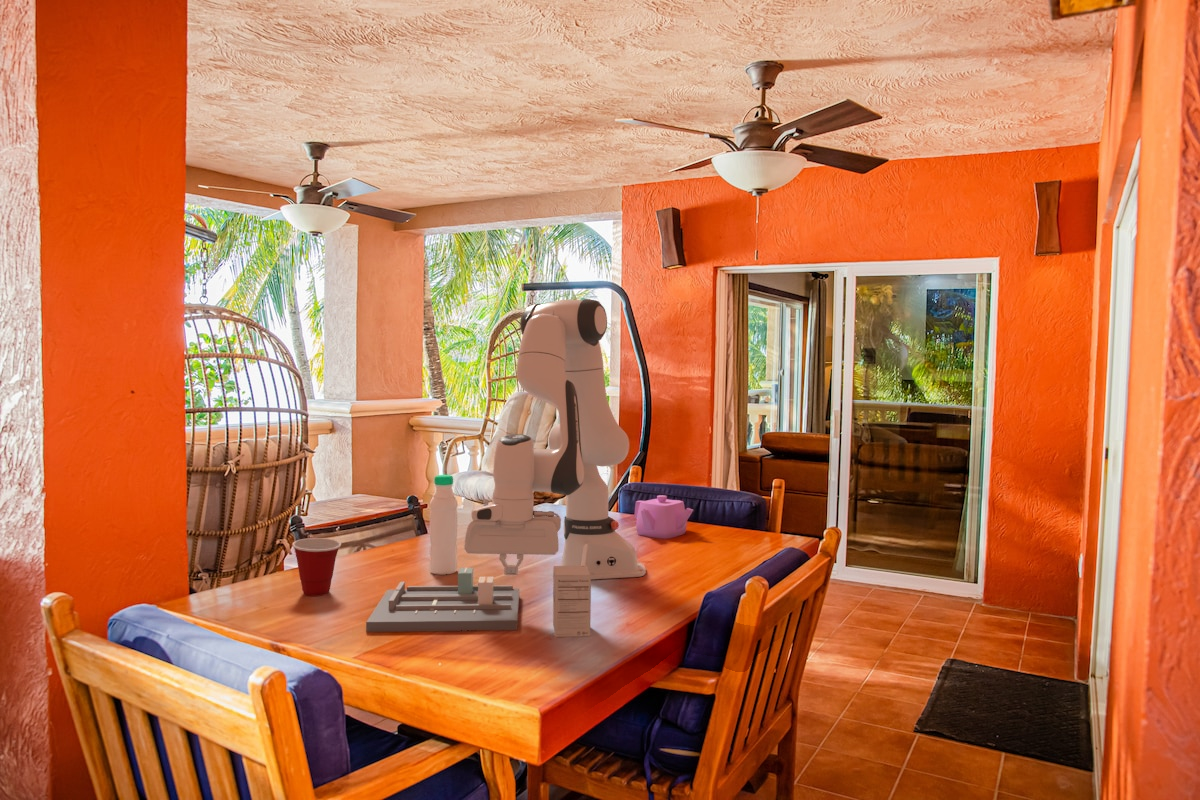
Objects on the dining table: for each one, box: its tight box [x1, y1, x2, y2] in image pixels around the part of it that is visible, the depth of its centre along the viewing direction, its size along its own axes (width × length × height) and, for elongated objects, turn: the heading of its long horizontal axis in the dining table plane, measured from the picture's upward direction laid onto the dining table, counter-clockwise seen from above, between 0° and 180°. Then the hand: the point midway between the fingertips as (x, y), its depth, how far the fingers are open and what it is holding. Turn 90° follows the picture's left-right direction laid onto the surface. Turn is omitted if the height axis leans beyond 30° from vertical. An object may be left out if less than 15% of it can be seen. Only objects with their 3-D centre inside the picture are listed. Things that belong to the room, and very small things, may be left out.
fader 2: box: [477, 575, 494, 604], centre depth 181 cm, size 3×5×5 cm, turn 4°
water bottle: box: [428, 474, 458, 576], centre depth 216 cm, size 7×7×25 cm
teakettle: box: [633, 494, 694, 540], centre depth 268 cm, size 17×17×12 cm
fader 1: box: [457, 566, 474, 594], centre depth 189 cm, size 3×5×5 cm, turn 4°
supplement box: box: [552, 565, 592, 638], centre depth 169 cm, size 7×7×13 cm
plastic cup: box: [291, 537, 342, 597], centre depth 195 cm, size 11×11×12 cm
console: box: [365, 581, 520, 633], centre depth 180 cm, size 30×24×4 cm
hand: (511, 574), depth 181 cm, fingers closed
